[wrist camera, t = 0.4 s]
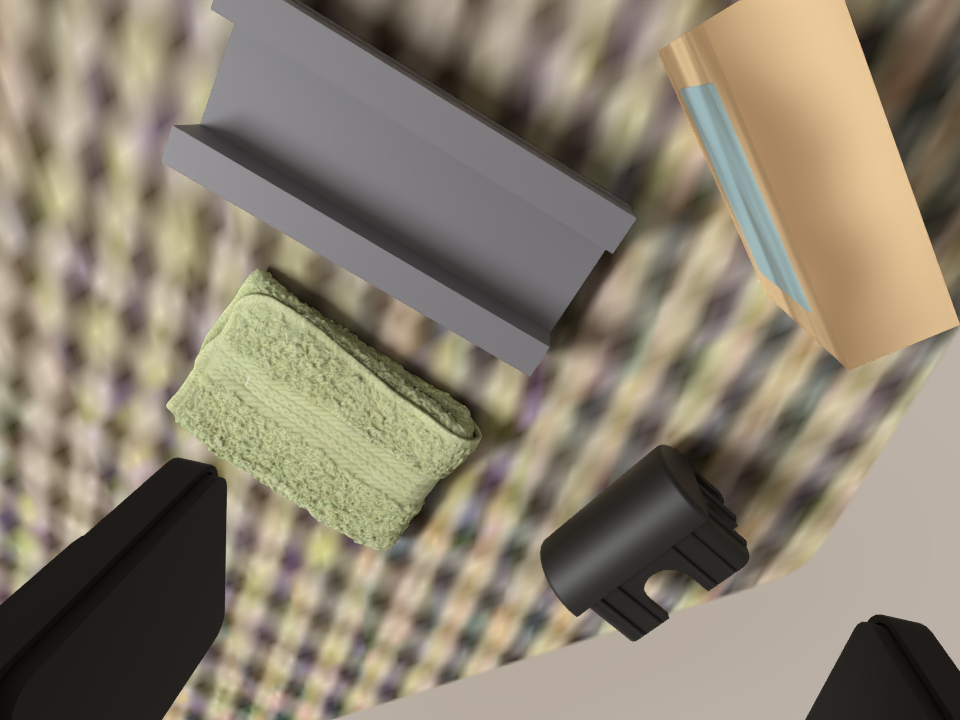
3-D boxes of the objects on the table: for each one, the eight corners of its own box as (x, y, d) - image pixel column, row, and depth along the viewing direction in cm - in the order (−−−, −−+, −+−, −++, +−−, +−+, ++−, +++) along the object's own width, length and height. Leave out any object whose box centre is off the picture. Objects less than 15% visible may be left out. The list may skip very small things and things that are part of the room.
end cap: (651, 421, 38) (668, 482, 32) (731, 491, 39) (763, 564, 33) (540, 516, 42) (535, 587, 35) (616, 578, 43) (625, 658, 37)
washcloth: (259, 253, 38) (233, 265, 35) (495, 417, 40) (489, 442, 37) (175, 406, 42) (146, 428, 40) (389, 544, 45) (377, 575, 42)
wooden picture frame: (738, 2, 29) (829, -55, 19) (841, 258, 33) (962, 323, 23) (655, 52, 31) (699, 24, 21) (763, 294, 34) (846, 371, 24)
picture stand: (265, -21, 32) (225, -38, 28) (629, 204, 33) (638, 216, 30) (202, 158, 35) (160, 163, 32) (532, 351, 37) (528, 377, 34)
